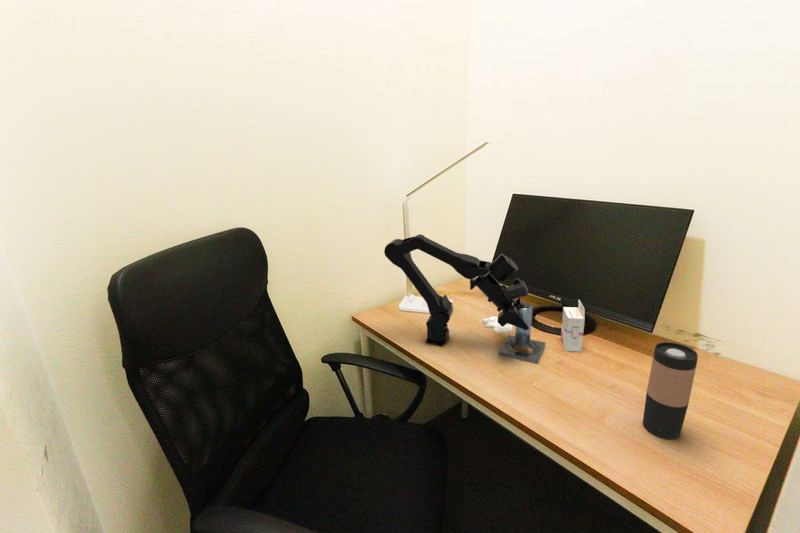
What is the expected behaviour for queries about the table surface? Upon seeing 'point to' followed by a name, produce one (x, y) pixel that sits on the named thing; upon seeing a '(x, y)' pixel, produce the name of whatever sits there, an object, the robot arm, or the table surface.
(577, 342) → the ink cartridge box
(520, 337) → the thermos bottle
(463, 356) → the table surface
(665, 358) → the travel mug
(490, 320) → the astronaut figurine
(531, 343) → the square metal washer
